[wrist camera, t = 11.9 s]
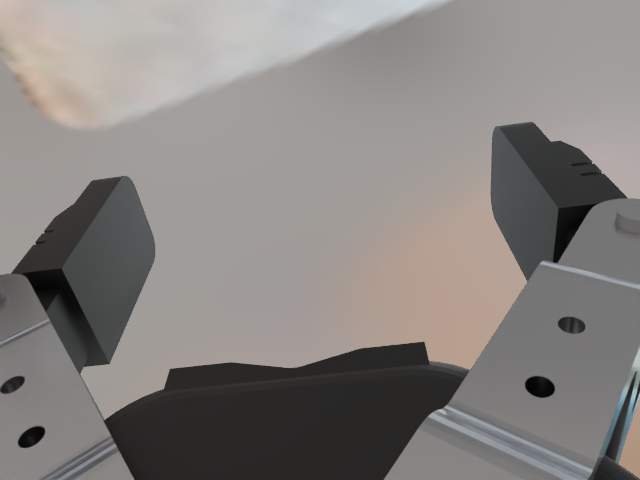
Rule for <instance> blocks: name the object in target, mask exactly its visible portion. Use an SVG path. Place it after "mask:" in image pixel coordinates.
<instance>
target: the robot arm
mask: <svg viewBox="0 0 640 480" xmlns="http://www.w3.org/2000/svg"><path fill="white" fill-rule="evenodd" d="M491 169H492V170H491V204H492V210H493V214H494V218H495V220H496V222H497V224H498V226H499V228H500V230H501V232H502V234H503V236H504V238H505V239H506V241H507V243H508V245H509V247H510V249H511V251H512V252H513V255H514V257H515V259H516V261H517V262H518V264H519V266H520V268H521V270H522V272H523V274H524V276H525V277H526V280H527V284H526V285H525V287H524V289H523V290H522V291H521V293H520V294H519V296H518V297H517V299H516V301H515V302H514V304H513V305H512V307H511V308H510V310H509V311H508V313H507V314H506V316H505V318H504V319H503V320H502V322H501V324H500V325H499V327H498V328H497V330H496V332H495V333H494V334H493V336H492V337H491V339H490V341H489V342H488V344H487V345H486V347H485V348H484V350H483V351H482V353H481V354H480V356H479V357H478V359H477V360H476V362H475V364H474V365H473V367H472V368H471V370H469V369H465V368H462V367H459V366H455V365H451V364H445V363H441V362H433V361H429V360H428V356H427V351H426V347H425V343H424V342H418V343H409V344H400V345H390V346H382V347H372V348H362V349H358V350H354V351H351V352H348V353H345V354H341V355H338V356H335V357H331V358H328V359H325V360H321V361H318V362H315V363H312V364H308V365H305V366H302V367H298V368H282V367H271V366H261V365H251V364H240V363H222V364H213V365H203V366H193V367H185V368H175V369H170V371H169V375H168V378H167V381H166V384H165V388H164V389H163V390H160V391H157V392H155V393H152V394H150V395H147V396H145V397H142V398H140V399H138V400H136V401H134V402H132V403H131V404H129V405H127V406H125V407H124V408H122V409H120V410H119V411H117V412H116V413H114V414H113V415H111V416H110V417H109V418H107V419H106V420H104V418H103V416H102V414H101V412H100V410H99V409H98V407H97V405H96V403H95V402H94V399H93V398H92V396H91V394H90V392H89V390H88V388H87V386H86V384H85V383H84V381H83V379H82V377H81V375H80V373H81V371H82V369H83V367H86V366H95V365H104V364H110V361H111V359H112V357H113V354H114V352H115V350H116V348H117V345H118V343H119V341H120V338H121V336H122V334H123V331H124V329H125V326H126V324H127V322H128V320H129V317H130V315H131V313H132V311H133V308H134V306H135V304H136V301H137V299H138V297H139V295H140V292H141V290H142V288H143V285H144V283H145V281H146V278H147V276H148V273H149V271H150V269H151V267H152V264H153V262H154V259H155V243H154V238H153V234H152V232H151V229H150V226H149V224H148V221H147V218H146V215H145V213H144V210H143V207H142V205H141V202H140V199H139V196H138V194H137V191H136V188H135V186H134V184H133V182H132V181H131V179H130V178H129V177H127V176H121V177H114V178H106V179H99V180H93V181H91V183H90V184H89V185H88V186H87V188H86V189H85V190H84V192H83V193H82V194H81V196H80V197H79V198H78V199H77V201H76V202H75V203H74V204H73V205H72V206H70V207H69V208H67V209H66V210H65V211H63V212H62V213H60V214H59V215H58V216H56V217H55V218H54V219H53V221H52V222H51V223H50V224H49V226H48V227H47V228H46V229H45V231H44V232H45V233H44V234H42V235H41V236H40V237H39V238H38V240H37V241H36V245H33V246H32V247H31V249H30V250H29V251H28V252H27V254H26V255H25V256H24V258H23V259H22V260H21V261H20V263H19V264H18V265H17V267H16V268H15V269H14V270H13V272H12V273H11V274H5V275H0V480H640V479H639V478H638V477H636V476H635V475H633V474H632V473H631V472H629V471H627V470H626V469H625V468H623V467H622V466H620V465H619V461H620V457H621V454H622V450H623V447H624V444H625V440H626V437H627V434H628V431H629V428H630V425H631V422H632V419H633V416H634V413H635V410H636V407H637V405H638V401H639V398H640V199H631V198H627V197H626V196H625V195H624V194H623V193H622V192H621V191H620V190H619V189H618V188H617V187H616V186H615V185H614V183H612V181H611V180H610V179H609V178H608V177H607V176H606V175H604V174H602V173H601V170H600V169H599V168H598V167H597V166H596V165H595V164H592V161H591V160H590V159H589V158H588V157H587V156H586V155H585V154H584V153H583V152H582V151H581V150H580V149H578V148H575V147H573V146H571V145H568V144H566V143H564V142H562V141H554V142H550V141H549V139H548V138H547V137H546V136H545V135H544V134H543V133H542V131H541V130H539V128H538V127H537V126H536V125H535V124H534V123H533V122H526V123H519V124H512V125H504V126H497V127H495V129H494V131H493V137H492V166H491Z"/></svg>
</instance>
